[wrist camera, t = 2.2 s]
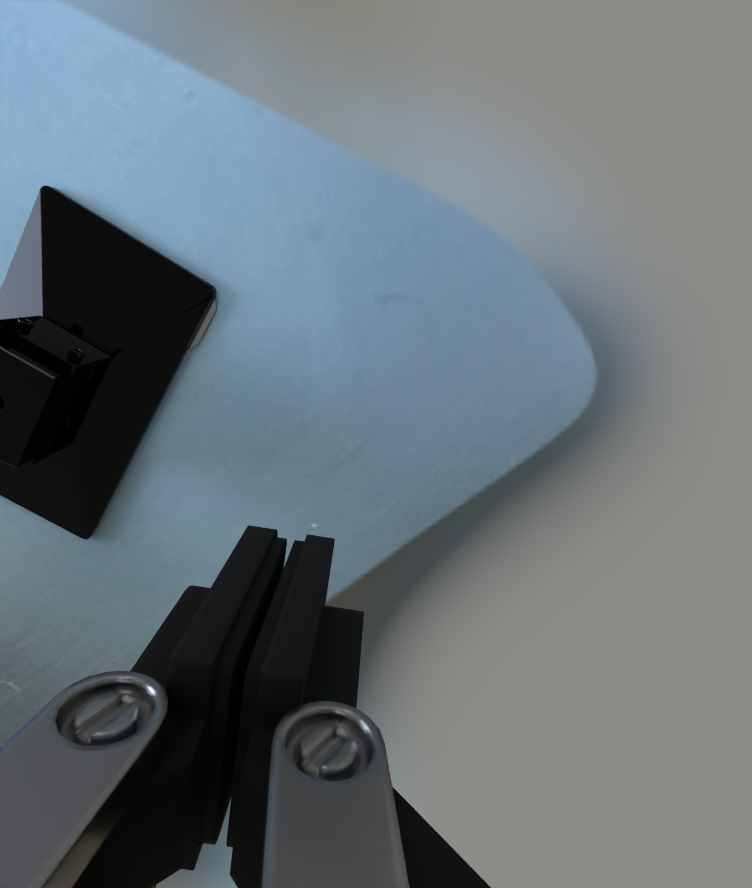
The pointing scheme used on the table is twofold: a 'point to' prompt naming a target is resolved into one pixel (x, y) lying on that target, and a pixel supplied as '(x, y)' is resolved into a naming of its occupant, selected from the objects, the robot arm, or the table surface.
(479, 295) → the table surface
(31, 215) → the build plate
